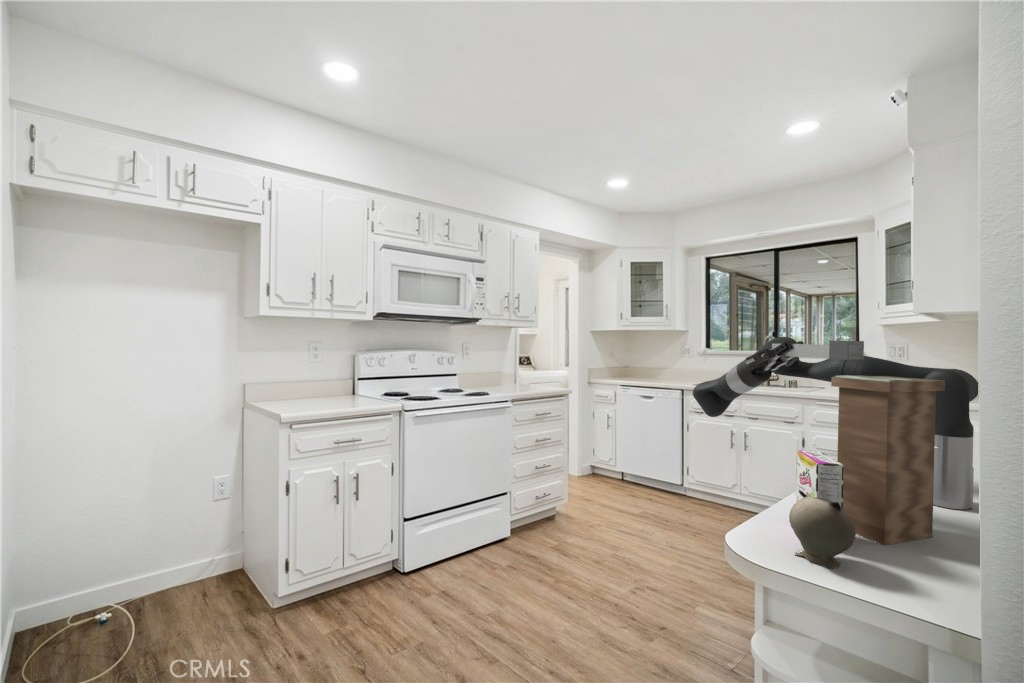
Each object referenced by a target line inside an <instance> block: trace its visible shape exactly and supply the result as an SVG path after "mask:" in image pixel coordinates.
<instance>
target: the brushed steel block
mask: <svg viewBox="0 0 1024 683" xmlns="http://www.w3.org/2000/svg"><path fill="white" fill-rule="evenodd" d="M779 345H781V344H772V348H774V347H778V346H779ZM791 345H792V349H791V350H789V351H788V352H786V353H785V354H783V355H779V356H789V357H799V358H811V359H813V358H814V359H825V360H826V359H842V360H864V356H865V352H864V351H865V341H864V340H829V344H811V343H810V344H806V343H804V344H791Z"/></svg>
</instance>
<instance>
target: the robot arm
mask: <svg viewBox="0 0 1024 683" xmlns="http://www.w3.org/2000/svg"><path fill="white" fill-rule="evenodd" d="M772 344H781V345H779V346H778V347H774V348H772ZM791 344H805V343H804V342H803V341H802V340H799V341H796V340H795V339H794V338H792V337H789V336H778V337H775V338H773V339H770V340H769V341H767V342H766V343H765V344H764V345H762V346H761V347H760V348H759V349H758V350H757V351H755V353H753V354H752V355H750V356H747V357H746V358H745V359H743V360H741V361H740V362H739V363H737V364H736V365H735V366H732V368H731V369H730V370H729V371H728V372H726V373H725V374H723V375H722V376H720V377H718V378H716V379H712V380H707V381H702V382H700V383H698V384H697V385H696V386H695V387H694V388H693V390H692V397H693V398H694V399H695V401H696V402H697V404H698V406H699V407H700V408H701V409H702V411H703V412H704V413H705V414H706V415H707V417H711V418H717V417H719V416H721V415H722V414H724V412H726V411H727V409H728V408H729V407H730V405H731V404H732V402H733V401H734V400H736V399H737V398H738V397H740V396H741V395H743V394H745V393H748V392H751V391H752V390H754V389H756V388H758V387H759V386H761V385H762V384H764V383H766V382H767V381H769V380H770V379H771V377H772V374H775V375H779V376H785V377H793V378H803V379H812V380H817V381H823V382H828V383H831V377H835V376H848V375H861V376H889V377H902V378H915V379H928V380H941V381H945V391H936V406H935V448H934V489H933V506H937V507H942V508H946V509H952V510H953V509H955V510H970V509H969V508H971V507H972V506H973V505H974V475H975V474H974V473H975V472H974V471H975V470H974V469H975V468H974V466H973V464H974V430H975V429H974V425H973V423H972V421H971V418H970V402H973V401H974V400H975V399H976V398H977V396H979V394H978V384H979V382H978V380H977V378H976V377H974V376H973V375H972V374H971V373H969V372H967V371H964V370H962V369H959V368H958V369H957V368H938V367H936V368H935V367H926V366H917V365H915V366H914V365H910V364H905V363H901V362H897V361H892V360H889V359H883V358H880V357H875V356H874V357H873V356H868V355H864V360H842V359H826V358H825V359H824V360H821V361H818V362H807V361H802V360H800V357H789V356H779V355H783V354H785V353H786V352H788V351H789V350H791V349H792V345H791ZM972 504H973V505H972ZM971 509H972V508H971Z"/></svg>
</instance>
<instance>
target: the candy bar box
mask: <svg viewBox="0 0 1024 683" xmlns="http://www.w3.org/2000/svg"><path fill="white" fill-rule="evenodd" d="M843 466H844V465H843V464H841V463H839V462H837V460H835V459H834V458H832V457H830V456H828V455H827V454H825V453H824V452H822V451H818V450H817V451H816V450H802V449H801V450H800V449H799V450H796V502H798V501H799V500H801V499H802V498H804V497H803V496H801V494H800V493H799V490H800V491H802V492H803V493H804V494H805V495H806V496H810V497H815V498H825V499H829V500H831V501H833V502H835V503H836V502H838V503H839V505H840V506H841V508H842V509H843Z"/></svg>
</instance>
